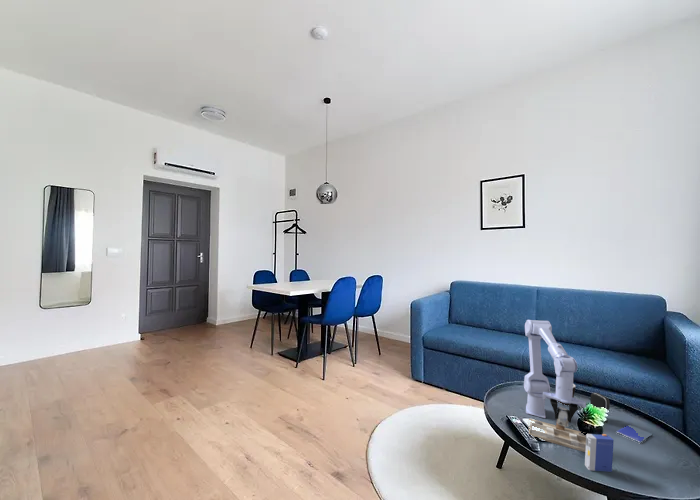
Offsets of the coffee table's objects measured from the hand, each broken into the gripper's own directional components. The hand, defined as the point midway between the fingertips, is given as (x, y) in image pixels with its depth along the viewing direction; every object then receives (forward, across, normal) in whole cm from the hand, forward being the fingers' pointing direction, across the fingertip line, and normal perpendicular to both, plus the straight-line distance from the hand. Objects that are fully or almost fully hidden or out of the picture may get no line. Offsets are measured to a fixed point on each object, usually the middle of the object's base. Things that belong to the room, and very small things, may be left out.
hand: (562, 419), depth 131 cm
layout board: (+9, 0, +3) cm, 9 cm away
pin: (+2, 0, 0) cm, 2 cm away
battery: (+9, +17, +30) cm, 36 cm away
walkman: (+9, +10, -13) cm, 19 cm away
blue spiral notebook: (+10, +28, +23) cm, 37 cm away
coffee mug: (+9, +4, +38) cm, 39 cm away
